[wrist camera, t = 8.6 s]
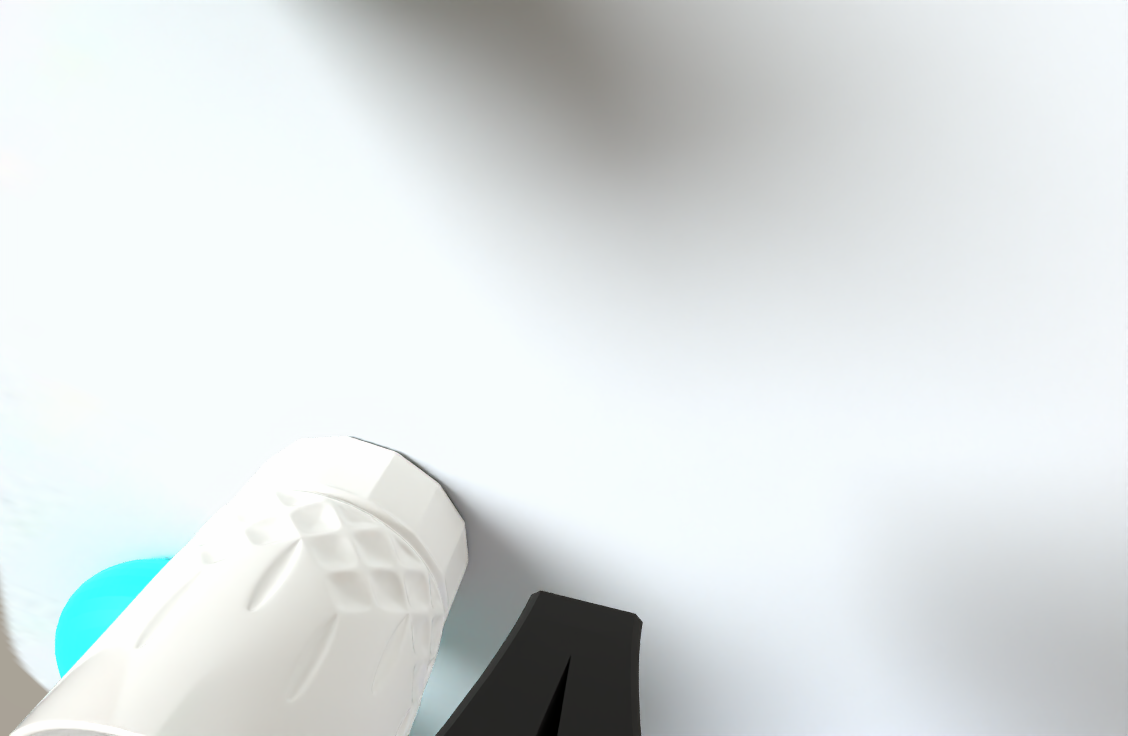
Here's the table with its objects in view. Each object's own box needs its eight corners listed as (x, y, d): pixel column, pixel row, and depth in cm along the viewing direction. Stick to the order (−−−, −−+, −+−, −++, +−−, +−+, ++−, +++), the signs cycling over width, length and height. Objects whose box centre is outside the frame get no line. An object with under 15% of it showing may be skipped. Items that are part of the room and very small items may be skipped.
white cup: (245, 566, 29) (26, 867, 21) (243, 380, 25) (-39, 673, 16) (469, 642, 28) (333, 981, 20) (510, 467, 24) (355, 814, 16)
